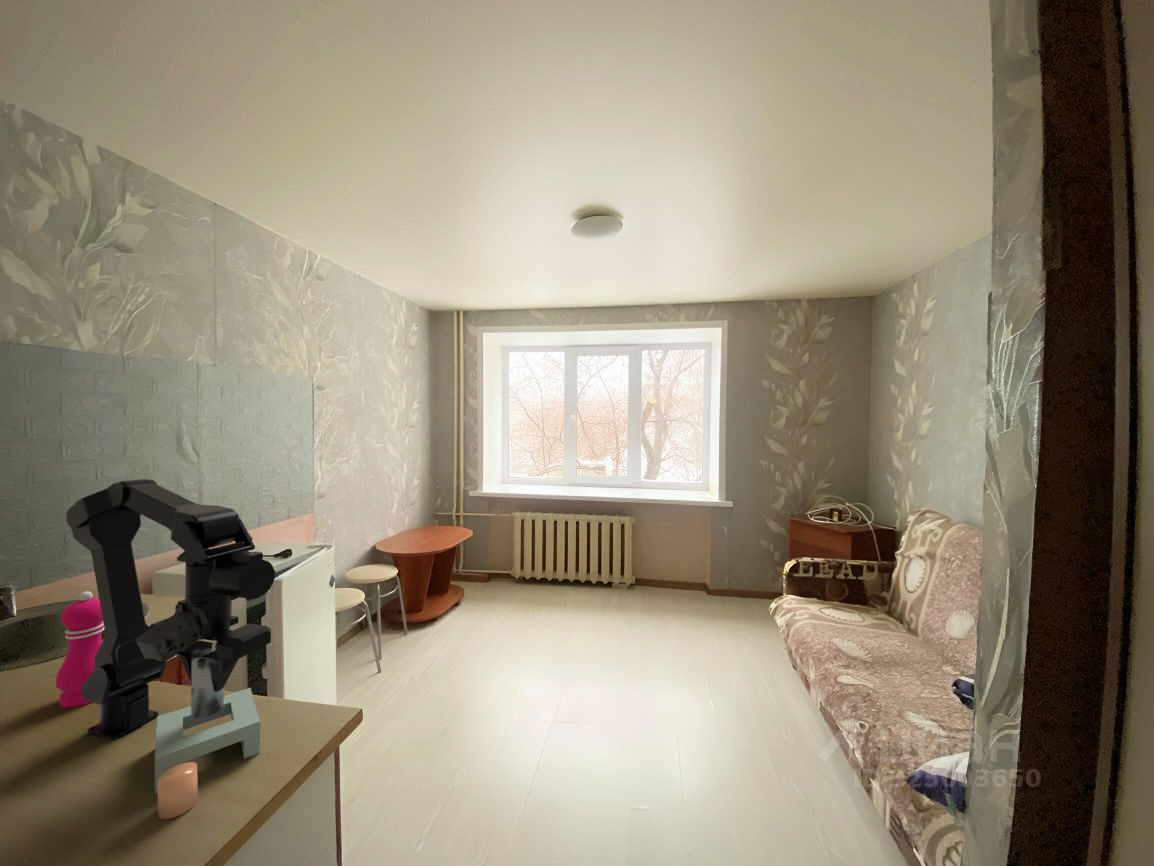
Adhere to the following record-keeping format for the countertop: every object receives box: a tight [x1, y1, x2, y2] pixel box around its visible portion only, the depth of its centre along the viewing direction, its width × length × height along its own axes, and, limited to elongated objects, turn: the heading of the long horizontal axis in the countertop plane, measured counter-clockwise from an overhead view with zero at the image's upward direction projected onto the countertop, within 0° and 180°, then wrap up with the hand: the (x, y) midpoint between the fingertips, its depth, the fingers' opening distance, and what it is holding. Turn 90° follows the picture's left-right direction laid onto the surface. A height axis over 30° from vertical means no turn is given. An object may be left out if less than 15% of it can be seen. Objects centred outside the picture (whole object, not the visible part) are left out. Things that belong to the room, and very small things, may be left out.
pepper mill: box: [55, 590, 105, 709], centre depth 83 cm, size 7×7×20 cm
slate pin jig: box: [154, 687, 261, 795], centre depth 70 cm, size 12×12×5 cm
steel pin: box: [190, 646, 225, 718], centre depth 70 cm, size 4×4×9 cm
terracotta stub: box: [157, 761, 199, 820], centre depth 60 cm, size 4×4×4 cm
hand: (208, 688), depth 70 cm, fingers closed on steel pin, 4 cm apart
